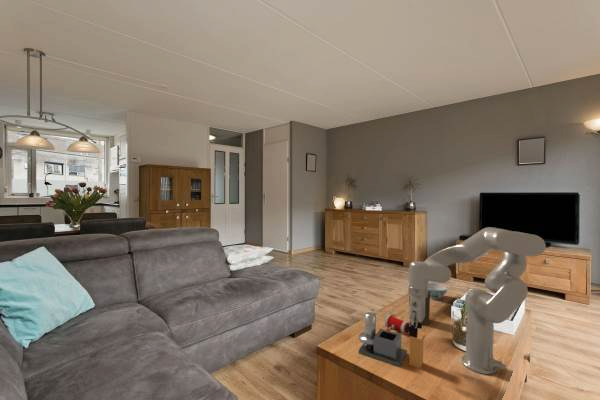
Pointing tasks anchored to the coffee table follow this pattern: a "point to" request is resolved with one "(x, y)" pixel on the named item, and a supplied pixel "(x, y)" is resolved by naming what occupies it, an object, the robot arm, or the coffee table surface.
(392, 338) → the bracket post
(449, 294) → the coffee table surface
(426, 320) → the canister
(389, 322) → the toy hammer
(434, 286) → the chinaware
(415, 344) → the orange rectangular block
